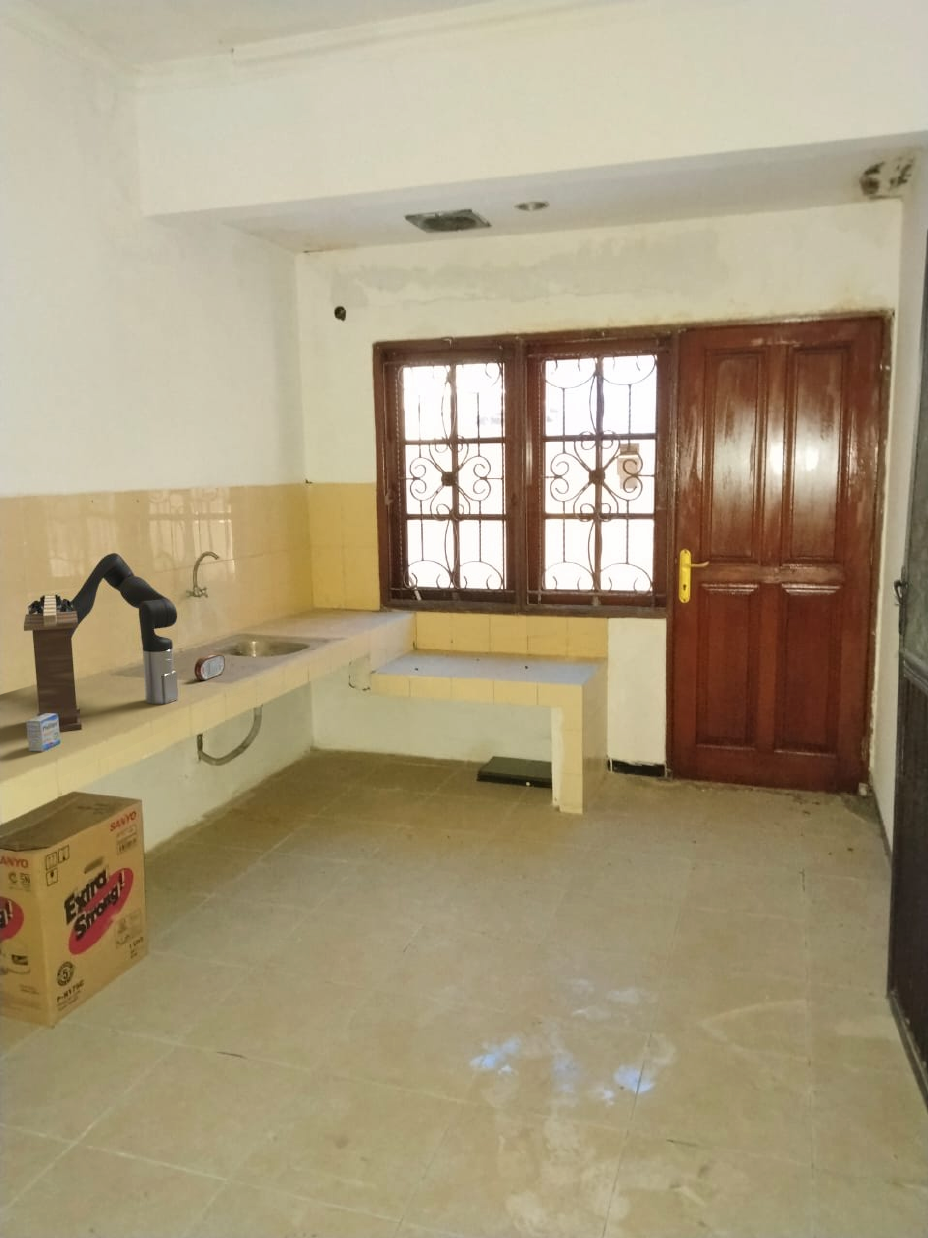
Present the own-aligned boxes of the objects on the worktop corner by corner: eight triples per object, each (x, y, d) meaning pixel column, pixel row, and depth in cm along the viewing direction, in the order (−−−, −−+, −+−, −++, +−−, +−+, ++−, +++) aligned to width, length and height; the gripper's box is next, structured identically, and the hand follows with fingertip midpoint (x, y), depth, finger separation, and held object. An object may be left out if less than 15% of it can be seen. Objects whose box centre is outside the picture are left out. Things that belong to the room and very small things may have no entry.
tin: (220, 672, 335) (219, 650, 333) (227, 673, 334) (226, 651, 332) (194, 682, 321) (192, 658, 320) (201, 683, 320) (200, 659, 319)
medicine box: (43, 752, 245) (40, 721, 244) (28, 751, 246) (25, 720, 244) (60, 743, 253) (58, 713, 251) (46, 742, 253) (43, 712, 252)
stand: (34, 717, 277) (25, 614, 272) (83, 712, 283) (76, 611, 277) (32, 735, 259) (23, 625, 254) (85, 729, 265) (77, 622, 259)
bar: (45, 604, 282) (44, 595, 281) (56, 603, 283) (55, 594, 282) (44, 626, 246) (43, 615, 245) (56, 626, 247) (55, 615, 246)
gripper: (27, 608, 289) (23, 587, 274) (75, 605, 294) (74, 585, 279) (29, 630, 286) (25, 611, 271) (77, 627, 292) (76, 608, 277)
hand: (50, 598), depth 275 cm, fingers closed on bar, 3 cm apart
